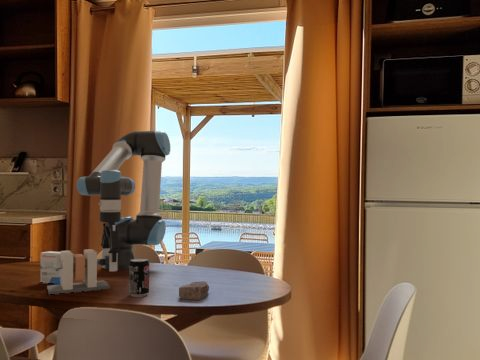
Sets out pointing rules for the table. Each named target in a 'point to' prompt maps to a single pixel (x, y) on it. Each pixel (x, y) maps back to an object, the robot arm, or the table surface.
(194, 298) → the stone
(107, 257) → the shaft
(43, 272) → the ink box
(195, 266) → the table surface
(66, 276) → the jig
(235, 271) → the table surface
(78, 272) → the spacer
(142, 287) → the beverage can
